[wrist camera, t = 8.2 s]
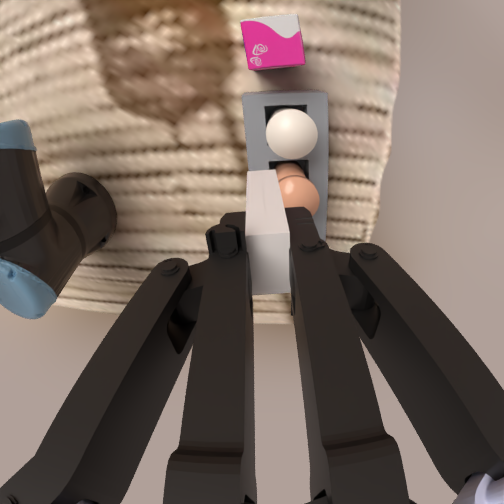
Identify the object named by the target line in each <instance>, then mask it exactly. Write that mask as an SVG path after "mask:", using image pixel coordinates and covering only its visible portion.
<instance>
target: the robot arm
mask: <svg viewBox="0 0 504 504" xmlns="http://www.w3.org/2000/svg"><path fill="white" fill-rule="evenodd" d="M36 151H37V149H36V147H35V146H34V143H33V139H32V134H31V130H30V126H29V125H28V123H27V122H26V121H24V120H12V121H7V122H3V123H0V304H1V305H2V306H4V307H5V308H6V309H8V310H9V311H11V312H12V313H14V314H16V315H18V316H21V317H23V318H27V319H38V318H40V317H42V316H43V315H45V313H46V312H47V311H48V309H49V308H50V307H51V305H52V304H53V303H55V302H56V299H57V297H58V296H59V294H60V293H61V291H62V289H63V288H64V286H65V285H66V283H67V282H68V280H69V279H70V277H71V276H72V274H73V273H74V271H75V270H76V268H77V267H78V265H79V264H80V262H81V261H82V260H83V259H84V258H85V257H87V256H89V255H91V254H93V253H94V252H96V251H98V250H100V249H101V248H102V247H104V246H105V245H106V243H107V242H108V241H109V239H110V238H111V237H112V235H113V233H114V231H115V227H116V211H115V207H114V204H113V201H112V199H111V197H110V195H109V194H108V192H107V191H106V190H105V188H104V187H103V186H102V185H101V184H100V183H99V182H98V181H96V180H95V179H94V178H92V177H90V176H88V175H85V174H82V173H68V174H65V175H63V176H62V177H60V178H59V179H57V180H56V181H55V182H54V183H53V184H52V185H51V186H50V187H49V189H48V190H47V192H46V193H45V189H44V185H43V181H42V177H41V173H40V169H39V164H38V160H37V155H36ZM205 235H206V240H207V245H208V250H209V258H208V259H207V260H205V261H203V262H201V263H198V264H194V265H191V266H188V263H187V261H185V260H184V259H181V258H170V259H166V260H164V261H162V262H160V263H158V264H157V265H156V266H155V267H154V269H153V270H152V271H151V273H150V274H149V275H148V277H147V278H146V279H145V281H144V282H143V283H142V285H141V286H140V288H139V289H138V290H137V292H136V293H135V294H134V296H133V297H132V299H131V300H130V301H129V303H128V304H127V306H126V307H125V309H124V310H123V311H122V313H121V314H120V316H119V317H118V319H117V320H116V322H115V323H114V325H113V326H112V327H111V329H110V330H109V332H108V333H107V335H106V336H105V338H104V339H103V341H102V342H101V344H100V345H99V347H98V348H97V350H96V352H95V353H94V354H93V356H92V358H91V359H90V361H89V362H88V364H87V366H86V367H85V369H84V370H83V372H82V373H81V375H80V377H79V378H78V380H77V381H76V383H75V385H74V386H73V388H72V390H71V391H70V393H69V395H68V396H67V398H66V400H65V402H64V403H63V405H62V407H61V408H60V410H59V412H58V413H57V415H56V417H55V419H54V421H53V422H52V424H51V426H50V428H49V430H48V431H47V433H46V435H45V437H44V439H43V441H42V443H41V445H40V447H39V449H38V450H37V452H36V454H35V456H34V457H33V458H32V459H30V460H29V461H28V462H27V463H26V464H25V465H24V466H23V467H22V468H21V469H20V470H19V471H18V472H17V473H16V474H15V475H14V476H12V477H11V478H10V479H9V480H8V481H7V482H6V483H5V484H4V485H3V486H2V487H1V488H0V504H120V503H121V502H122V500H123V498H124V496H125V494H126V492H127V490H128V488H129V486H130V484H131V481H132V479H133V477H134V474H135V472H136V470H137V468H138V465H139V463H140V461H141V458H142V456H143V454H144V451H145V449H146V447H147V445H148V442H149V440H150V438H151V435H152V433H153V431H154V429H155V427H156V424H157V422H158V420H159V417H160V415H161V413H162V411H163V408H164V407H165V404H166V402H167V400H168V398H169V396H170V393H171V391H172V389H173V386H174V384H175V382H176V380H177V378H178V376H179V373H180V371H181V369H182V367H183V365H184V363H185V360H186V358H187V356H188V354H189V351H190V349H191V347H192V345H193V349H192V356H191V362H190V368H189V375H188V382H187V389H186V396H185V403H184V411H183V418H182V427H181V435H180V442H179V446H178V448H177V450H175V451H174V452H173V453H172V454H171V456H170V458H169V460H168V465H167V470H166V478H165V487H164V497H163V504H257V487H256V477H255V420H254V337H253V336H254V335H253V334H254V332H253V299H252V295H264V294H278V293H290V292H291V316H293V319H294V326H295V334H296V341H297V349H298V357H299V365H300V373H301V382H302V391H303V400H304V408H305V418H306V428H307V438H308V448H309V459H310V493H311V494H310V495H311V502H308V503H306V504H416V503H415V502H414V501H412V500H410V499H409V496H408V491H407V485H406V479H405V474H404V469H403V464H402V459H401V455H400V451H399V448H398V445H397V442H396V441H395V439H394V438H393V437H392V436H390V435H388V434H387V433H386V431H385V429H384V426H383V422H382V419H381V414H380V410H379V406H378V402H377V398H376V394H375V390H374V387H373V383H372V379H371V375H370V372H369V368H368V365H367V361H366V358H365V355H364V351H363V348H362V344H361V341H360V339H361V340H362V342H363V343H364V344H365V346H366V348H367V349H368V351H369V353H370V354H371V356H372V358H373V359H374V361H375V363H376V364H377V366H378V367H379V369H380V371H381V372H382V374H383V376H384V377H385V379H386V381H387V382H388V384H389V386H390V387H391V389H392V391H393V392H394V394H395V396H396V397H397V399H398V401H399V402H400V404H401V406H402V408H403V409H404V411H405V413H406V414H407V416H408V418H409V420H410V421H411V423H412V425H413V427H414V428H415V430H416V432H417V434H418V435H419V437H420V439H421V441H422V443H423V445H424V446H425V448H426V450H427V452H428V454H429V456H430V457H431V459H432V461H433V463H434V465H435V467H436V468H437V470H438V472H439V473H440V475H441V477H442V478H443V479H444V481H445V482H446V483H447V484H448V485H449V487H450V488H451V489H452V490H453V491H454V492H455V493H456V494H457V495H458V496H457V498H456V499H455V500H454V502H453V503H452V504H504V390H503V389H502V387H501V386H500V384H499V383H498V381H497V380H496V379H495V377H494V376H493V374H492V373H491V372H490V370H489V369H488V368H487V366H486V365H485V364H484V362H483V361H482V360H481V358H480V357H479V356H478V355H477V353H476V352H475V351H474V349H473V348H472V347H471V346H470V345H469V343H468V342H467V341H466V339H465V338H464V337H463V336H462V335H461V333H460V332H459V331H458V330H457V328H455V326H454V325H453V324H452V322H451V321H450V320H449V319H448V318H447V317H446V315H445V314H444V313H443V312H442V311H441V310H440V309H439V308H438V306H437V305H436V304H435V303H434V302H433V301H432V300H431V299H430V298H429V296H428V295H427V294H426V293H425V292H424V291H423V290H422V289H421V288H420V286H418V284H417V283H416V282H415V281H414V280H413V279H412V278H411V277H410V276H409V275H408V274H407V273H406V272H405V271H404V270H403V269H402V268H401V267H400V266H399V264H398V263H397V262H396V261H395V260H394V259H393V258H391V256H390V255H389V254H388V253H387V252H386V251H385V250H383V249H382V248H381V247H379V246H377V245H375V244H372V243H359V244H356V245H354V246H353V247H352V248H351V250H350V253H344V252H338V251H334V250H331V249H329V247H328V245H327V243H326V242H325V241H324V240H322V239H320V236H319V234H318V231H317V228H316V226H315V223H314V220H313V218H312V215H311V212H310V211H309V210H308V209H306V208H305V207H304V206H303V207H287V208H284V204H283V200H282V196H281V191H280V187H279V183H278V178H277V174H276V170H275V169H274V170H260V171H248V172H247V195H246V211H245V212H233V213H226V214H225V215H224V216H223V217H222V218H221V220H220V224H218V225H215V226H213V227H211V228H210V229H208V230H207V232H206V234H205ZM359 337H360V338H359Z"/></svg>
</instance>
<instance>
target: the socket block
mask: <svg viewBox="0 0 504 504" xmlns="http://www.w3.org/2000/svg"><path fill="white" fill-rule="evenodd" d="M242 105H243V115H244V125H245V135H246V146H247V156H248V167H249V171H260V170H273V169H274V167H275V165H276V164H277V163H278V162H279V161H283V160H295V161H297V162H298V163H299V164H300V165H301V167H302V170H303V172H304V174H305V177H306V178H308V179H309V180H310V181H311V182H312V183H313V184H314V185H315V187H316V189H317V191H318V194H319V199H320V202H319V207H318V209H317V211H316V213H315V214H314V215H313V216H312V218H313V220H314V223H315V226H316V228H317V231H318V234H319V236H320V239H322V240H324V241H325V240H326V222H327V198H328V93H327V92H323V91H320V90H279V91H261V92H247V93H244V94H243V95H242ZM281 106H288V107H291V108H293V109H297V110H300V111H302V112H304V113H306V114H307V115H308V116H309V117H310V118H311V119H312V120H313V121H314V123H315V125H316V127H317V131H318V138H317V142H316V145H315V147H314V148H313V150H312V151H311V152H310V153H308V154H307V155H306V156H304V157H301V158H298V159H286V158H283V157H280V156H279V155H277V154H276V153H274V152H273V151H272V149H271V148H270V147H269V145H268V143H267V139H266V127H267V124H268V121H269V118H270V115H271V113H272V112H273V111H274V110H275V109H276V108H278V107H281Z"/></svg>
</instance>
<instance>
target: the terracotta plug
mask: <svg viewBox="0 0 504 504" xmlns="http://www.w3.org/2000/svg"><path fill="white" fill-rule="evenodd" d="M274 169H275V170H276V174H277V178H278V183H279V187H280V191H281V196H282V200H283V204H284V208H287V207H303V206H304V207H305V208H306V209H308V210H309V211H310V212H311V215H312V216H313V215H314V214H315V213H316V211H317V209H318V207H319V202H320V199H319V194H318V191H317V189H316V187H315V185H314V184H313V183H312V182H311V181H310V180H309V179H308V178H306V177H305V174H304V172H303V170H302V167H301V165H300V164H299V163H298V162H297V161H295V160H283V161H279V162H278V163H277V164H276V165H275V167H274ZM274 169H273V170H274Z"/></svg>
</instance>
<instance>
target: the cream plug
mask: <svg viewBox="0 0 504 504" xmlns="http://www.w3.org/2000/svg"><path fill="white" fill-rule="evenodd" d="M317 138H318V131H317V127H316V125H315V123H314V121H313V120H312V119H311V118H310V117H309V116H308V115H307V114H306V113H304V112H302V111H300V110H297V109H293V108H291V107H288V106H281V107H278V108H276V109H275V110H274V111H273V112H272V113H271V115H270V118H269V121H268V124H267V127H266V139H267V143H268V145H269V147H270V148H271V149H272V151H273V152H274V153H276V154H277V155H279V156H280V157H283V158H286V159H298V158H301V157H304V156H306V155H307V154H308V153H310V152H311V151H312V150H313V148H314V147H315V145H316V142H317Z"/></svg>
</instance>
